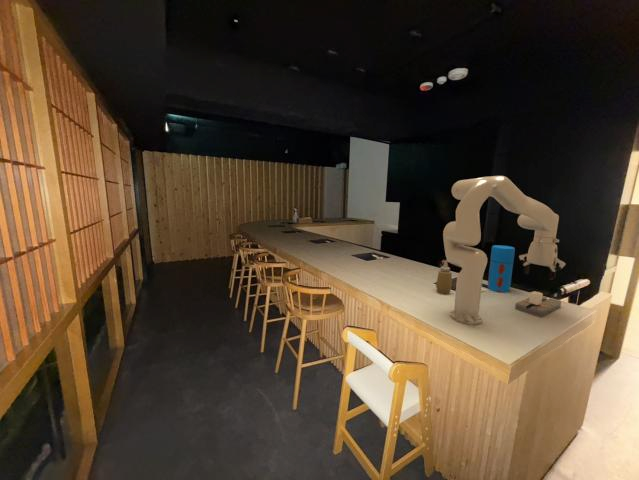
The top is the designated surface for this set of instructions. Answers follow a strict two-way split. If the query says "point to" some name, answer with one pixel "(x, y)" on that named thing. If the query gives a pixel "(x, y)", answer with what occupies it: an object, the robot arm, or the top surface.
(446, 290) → the squeeze bottle
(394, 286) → the top surface
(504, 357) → the top surface
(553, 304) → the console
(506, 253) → the thermos
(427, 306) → the top surface
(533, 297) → the fader
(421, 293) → the top surface
